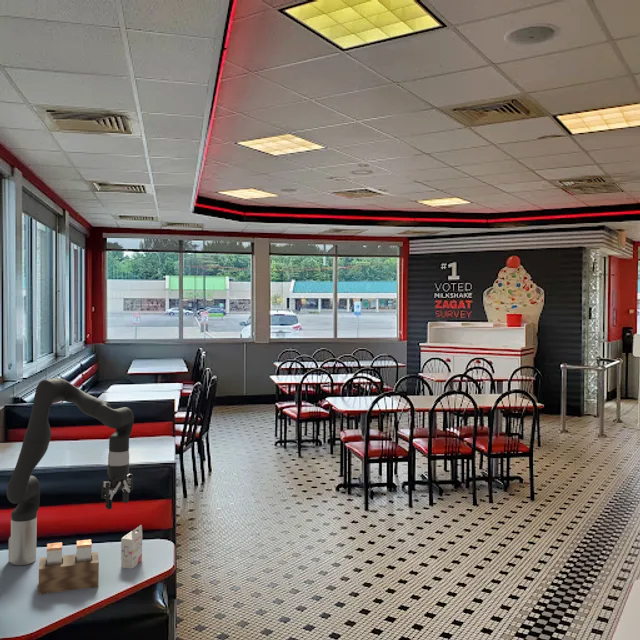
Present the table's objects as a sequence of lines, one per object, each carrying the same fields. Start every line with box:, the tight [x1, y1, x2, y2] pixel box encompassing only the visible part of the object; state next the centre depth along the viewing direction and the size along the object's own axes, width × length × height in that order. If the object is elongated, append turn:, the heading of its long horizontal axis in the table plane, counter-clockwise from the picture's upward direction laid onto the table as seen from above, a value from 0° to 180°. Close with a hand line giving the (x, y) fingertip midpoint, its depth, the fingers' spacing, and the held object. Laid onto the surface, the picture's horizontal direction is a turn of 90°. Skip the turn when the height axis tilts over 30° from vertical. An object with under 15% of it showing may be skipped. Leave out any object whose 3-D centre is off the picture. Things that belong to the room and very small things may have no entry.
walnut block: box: [37, 551, 100, 595], centre depth 241 cm, size 20×10×9 cm, turn 111°
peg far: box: [76, 539, 93, 563], centre depth 242 cm, size 5×5×9 cm
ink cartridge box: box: [120, 524, 143, 570], centre depth 260 cm, size 9×5×15 cm, turn 168°
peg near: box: [46, 542, 63, 566], centre depth 239 cm, size 5×5×9 cm
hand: (117, 505), depth 244 cm, fingers open, 8 cm apart
